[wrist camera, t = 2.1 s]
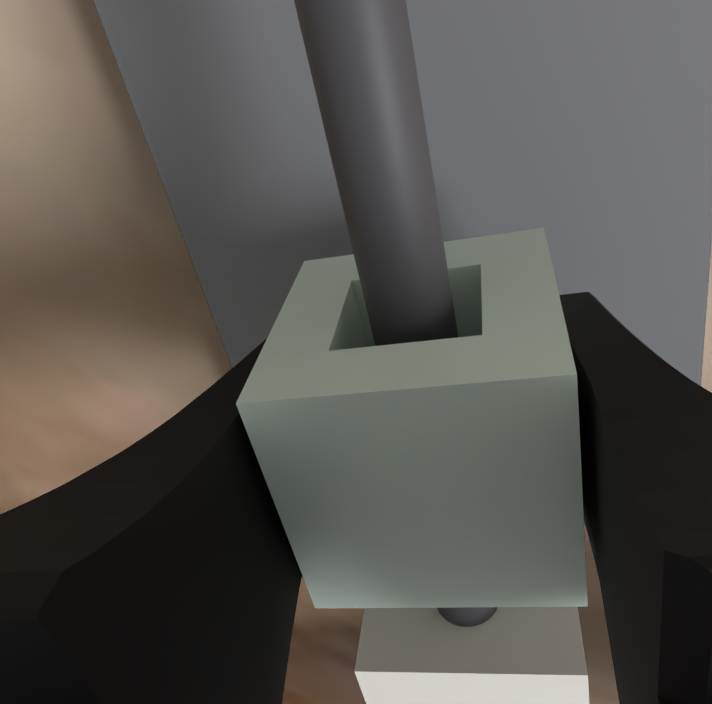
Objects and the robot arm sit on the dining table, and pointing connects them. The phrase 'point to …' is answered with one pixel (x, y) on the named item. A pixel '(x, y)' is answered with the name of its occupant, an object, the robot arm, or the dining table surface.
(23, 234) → the dining table surface
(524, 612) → the cord rig
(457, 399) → the marker sleeve
